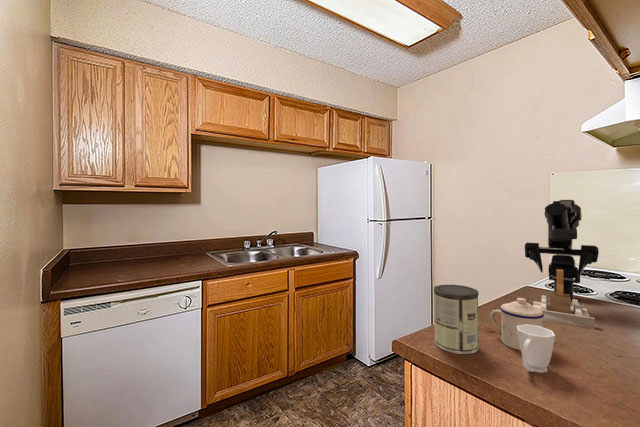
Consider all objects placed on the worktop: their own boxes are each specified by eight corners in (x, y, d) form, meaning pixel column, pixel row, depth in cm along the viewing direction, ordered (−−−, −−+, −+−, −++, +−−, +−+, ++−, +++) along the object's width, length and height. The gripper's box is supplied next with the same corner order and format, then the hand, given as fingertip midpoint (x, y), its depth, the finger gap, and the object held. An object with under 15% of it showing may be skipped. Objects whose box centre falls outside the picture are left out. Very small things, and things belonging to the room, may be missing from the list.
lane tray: (533, 305, 106) (533, 294, 106) (586, 313, 97) (586, 301, 97) (531, 323, 90) (531, 309, 90) (594, 334, 81) (595, 319, 81)
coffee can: (442, 333, 83) (442, 282, 83) (483, 344, 76) (483, 288, 76) (427, 345, 76) (426, 289, 76) (471, 359, 69) (470, 297, 69)
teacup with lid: (550, 346, 75) (550, 299, 74) (534, 357, 70) (534, 306, 69) (499, 330, 85) (499, 289, 84) (482, 338, 80) (482, 294, 79)
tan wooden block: (549, 307, 99) (549, 267, 99) (569, 310, 96) (569, 269, 96) (550, 311, 95) (550, 270, 95) (570, 314, 92) (570, 272, 92)
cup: (559, 368, 65) (560, 330, 65) (545, 385, 58) (545, 344, 58) (522, 356, 70) (522, 321, 70) (505, 370, 64) (505, 333, 64)
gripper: (524, 219, 104) (523, 255, 96) (598, 219, 93) (603, 261, 84) (526, 239, 111) (524, 275, 102) (594, 242, 100) (599, 282, 91)
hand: (560, 273), depth 95 cm, fingers open, 9 cm apart
